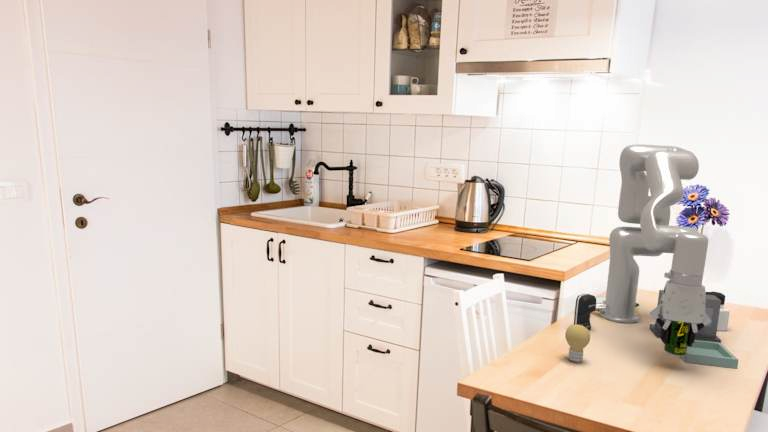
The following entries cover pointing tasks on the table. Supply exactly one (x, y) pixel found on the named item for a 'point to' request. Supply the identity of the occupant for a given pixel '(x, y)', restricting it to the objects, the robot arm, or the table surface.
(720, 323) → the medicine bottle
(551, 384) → the table surface
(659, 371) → the table surface
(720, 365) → the tray
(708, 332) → the housing
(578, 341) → the light bulb
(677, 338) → the beer can
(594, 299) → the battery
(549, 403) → the table surface
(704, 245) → the robot arm
